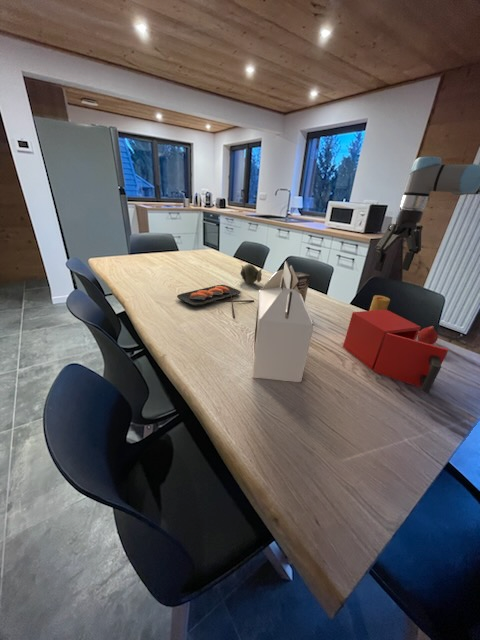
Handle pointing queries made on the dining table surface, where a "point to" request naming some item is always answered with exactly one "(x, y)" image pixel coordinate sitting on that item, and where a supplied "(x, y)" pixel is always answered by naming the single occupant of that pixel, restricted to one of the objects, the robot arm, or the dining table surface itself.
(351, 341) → the valve cabinet
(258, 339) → the gable box
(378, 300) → the yellow orange cylinder
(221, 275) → the dining table surface
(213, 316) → the dining table surface
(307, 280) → the coffee box
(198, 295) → the sushi plate
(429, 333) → the onion
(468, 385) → the dining table surface
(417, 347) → the red drawer
